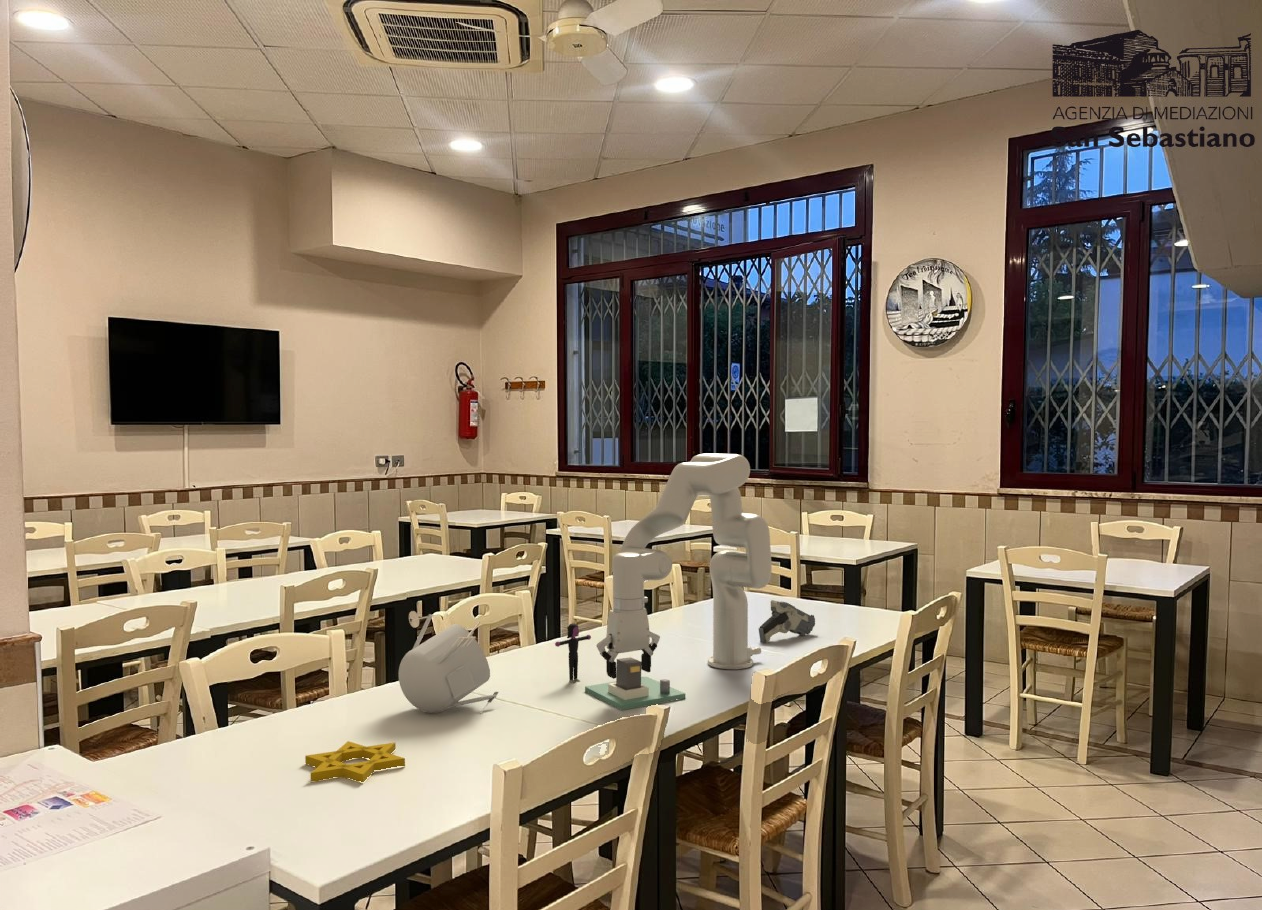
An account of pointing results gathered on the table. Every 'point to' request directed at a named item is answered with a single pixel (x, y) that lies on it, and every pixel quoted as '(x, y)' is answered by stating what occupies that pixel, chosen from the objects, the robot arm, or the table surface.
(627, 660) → the plug
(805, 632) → the toy gun
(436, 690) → the satellite
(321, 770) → the star of david
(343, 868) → the table surface
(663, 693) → the board
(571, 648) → the figurine
